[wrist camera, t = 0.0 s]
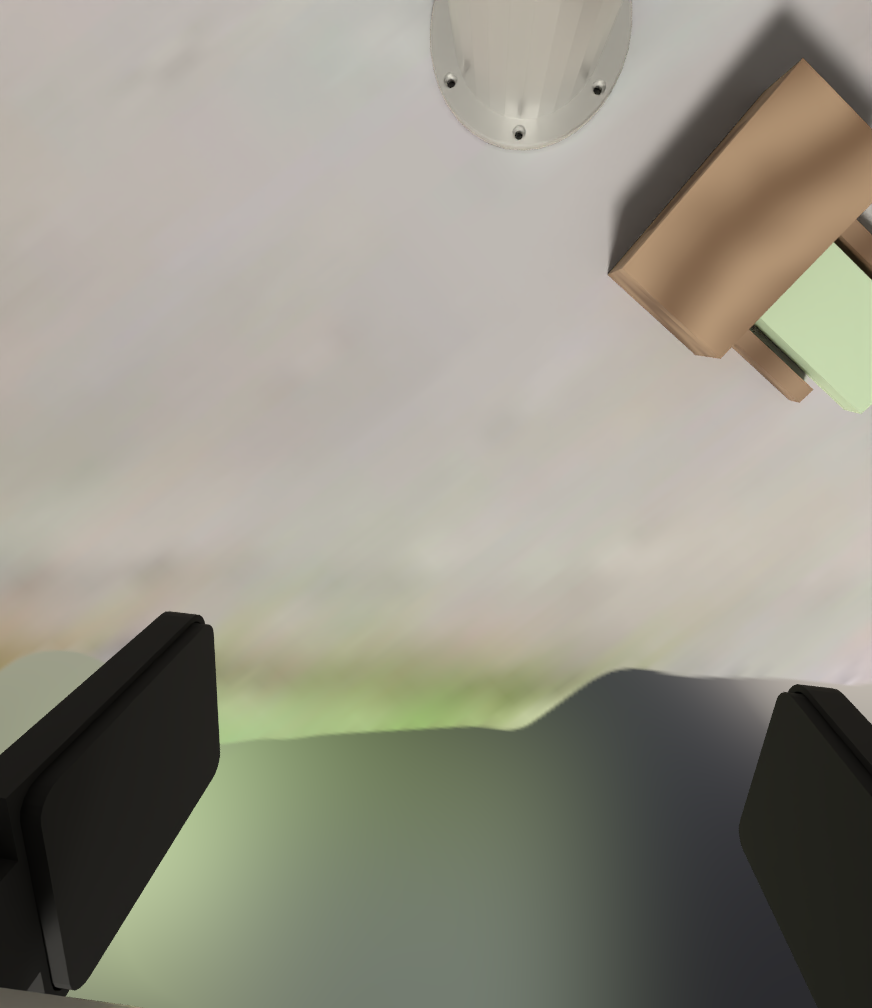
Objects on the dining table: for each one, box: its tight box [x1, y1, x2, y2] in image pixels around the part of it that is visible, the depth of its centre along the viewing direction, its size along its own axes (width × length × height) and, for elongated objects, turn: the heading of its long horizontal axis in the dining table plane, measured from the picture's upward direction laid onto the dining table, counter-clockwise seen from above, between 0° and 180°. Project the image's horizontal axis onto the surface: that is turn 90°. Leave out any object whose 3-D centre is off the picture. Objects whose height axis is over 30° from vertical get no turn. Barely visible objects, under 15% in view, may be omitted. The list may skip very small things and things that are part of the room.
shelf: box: [608, 59, 872, 403], centre depth 37 cm, size 16×14×5 cm
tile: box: [754, 242, 872, 414], centre depth 40 cm, size 11×6×2 cm, turn 51°
